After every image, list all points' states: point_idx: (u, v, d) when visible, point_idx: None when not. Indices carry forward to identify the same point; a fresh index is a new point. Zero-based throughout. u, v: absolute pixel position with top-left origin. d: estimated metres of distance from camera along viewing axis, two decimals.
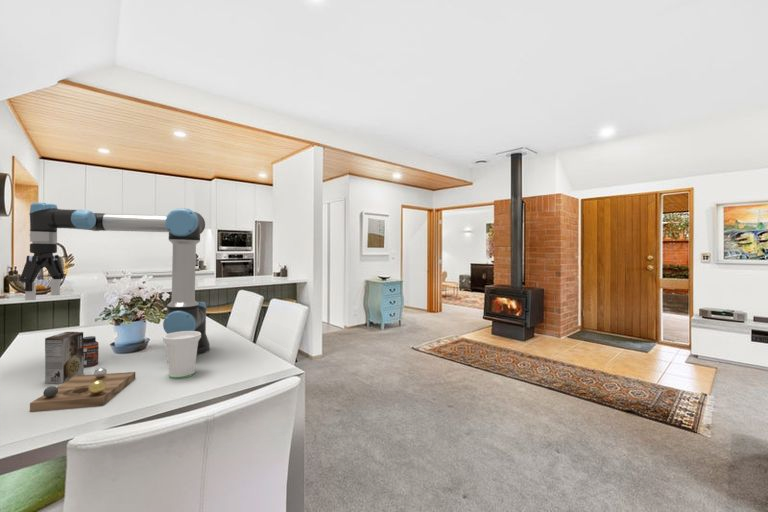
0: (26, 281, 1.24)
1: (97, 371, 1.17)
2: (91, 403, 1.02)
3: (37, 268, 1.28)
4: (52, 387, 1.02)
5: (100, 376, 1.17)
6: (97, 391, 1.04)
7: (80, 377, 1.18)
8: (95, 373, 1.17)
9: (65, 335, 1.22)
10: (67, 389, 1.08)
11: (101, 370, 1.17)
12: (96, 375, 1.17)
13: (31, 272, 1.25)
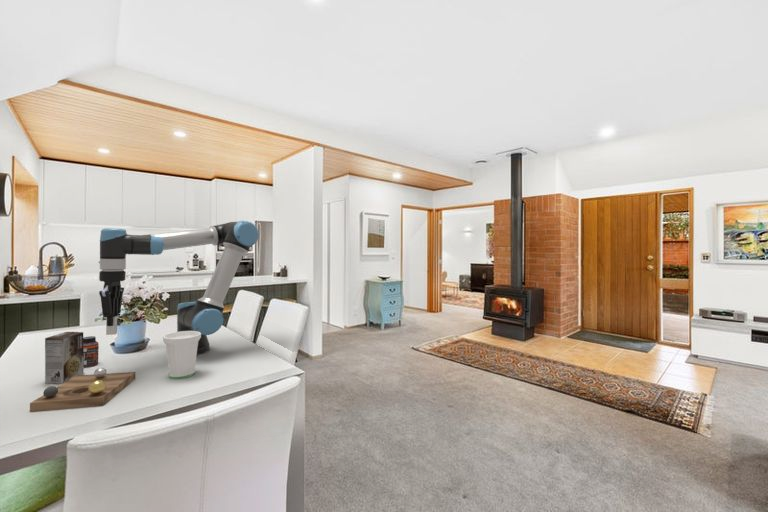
0: (108, 316, 1.23)
1: (97, 371, 1.17)
2: (91, 403, 1.02)
3: (112, 301, 1.24)
4: (52, 387, 1.02)
5: (100, 376, 1.17)
6: (97, 391, 1.04)
7: (80, 377, 1.18)
8: (95, 373, 1.17)
9: (65, 335, 1.22)
10: (67, 389, 1.08)
11: (101, 370, 1.17)
12: (96, 375, 1.17)
13: (110, 307, 1.22)
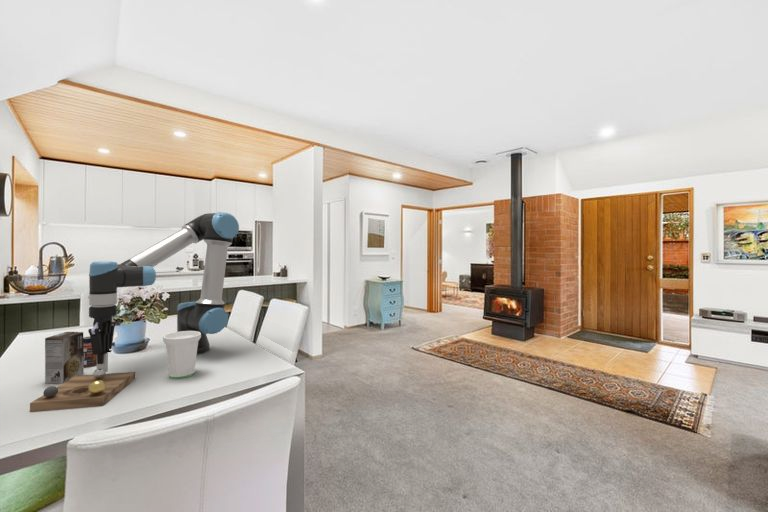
0: (99, 354, 1.17)
1: (95, 373, 1.16)
2: (91, 403, 1.02)
3: (102, 338, 1.18)
4: (52, 387, 1.02)
5: (100, 377, 1.17)
6: (97, 391, 1.04)
7: (80, 377, 1.18)
8: (94, 375, 1.16)
9: (65, 335, 1.22)
10: (67, 389, 1.08)
11: (99, 372, 1.17)
12: (95, 377, 1.16)
13: (100, 345, 1.16)
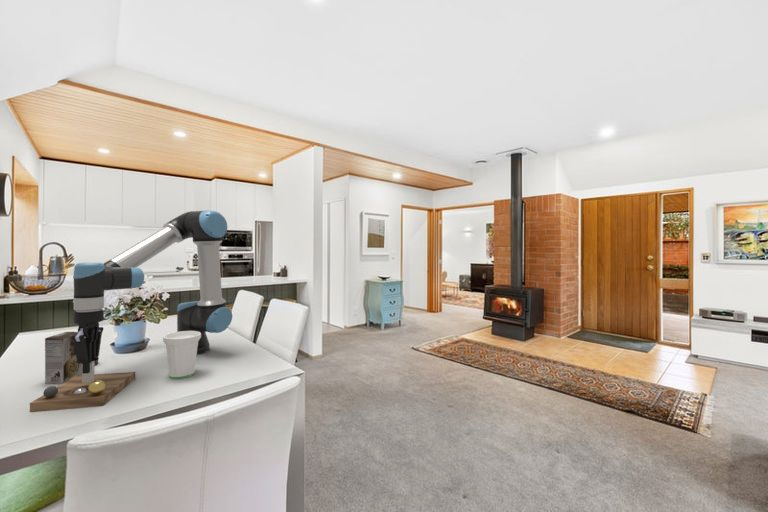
0: (84, 363, 1.09)
1: None
2: (91, 403, 1.02)
3: (88, 345, 1.10)
4: (52, 387, 1.02)
5: None
6: (97, 391, 1.04)
7: (80, 377, 1.18)
8: None
9: (65, 335, 1.22)
10: (67, 389, 1.08)
11: None
12: None
13: (86, 353, 1.08)
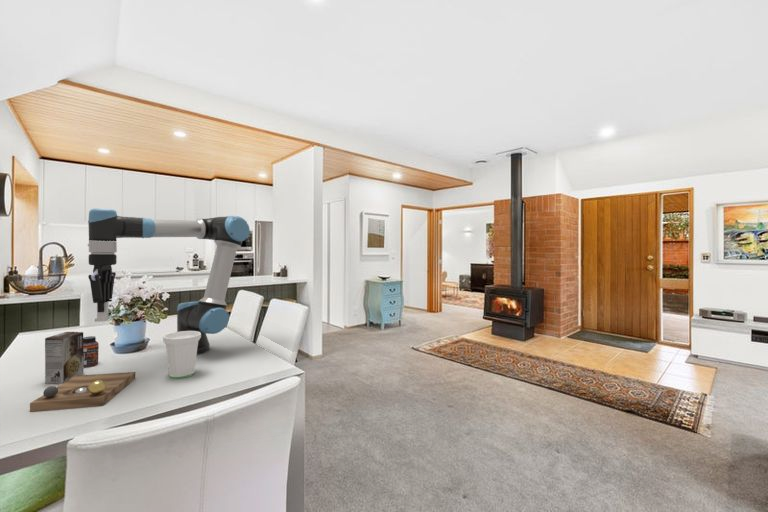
0: (99, 301, 1.16)
1: None
2: (91, 403, 1.02)
3: (102, 286, 1.17)
4: (52, 387, 1.02)
5: None
6: (97, 391, 1.04)
7: (80, 377, 1.18)
8: None
9: (65, 335, 1.22)
10: (67, 389, 1.08)
11: None
12: None
13: (101, 292, 1.15)
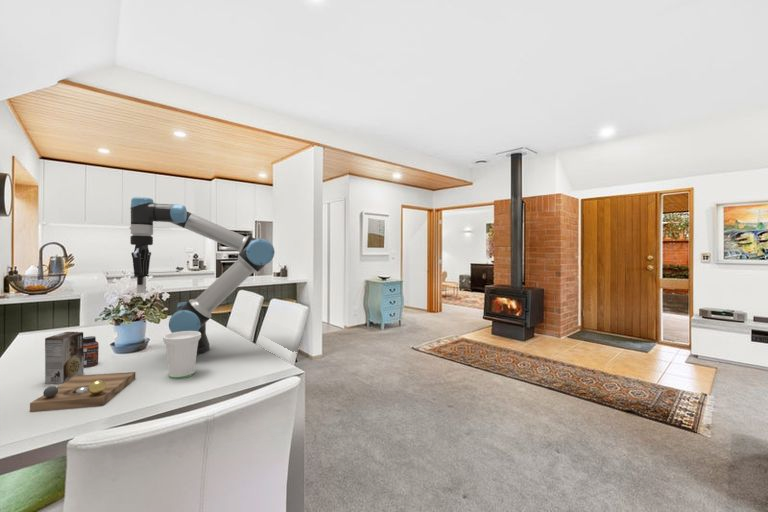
0: (139, 276, 1.37)
1: None
2: (91, 403, 1.02)
3: (142, 262, 1.38)
4: (52, 387, 1.02)
5: None
6: (97, 391, 1.04)
7: (80, 377, 1.18)
8: None
9: (65, 335, 1.22)
10: (67, 389, 1.08)
11: (82, 392, 1.07)
12: None
13: (141, 267, 1.37)
